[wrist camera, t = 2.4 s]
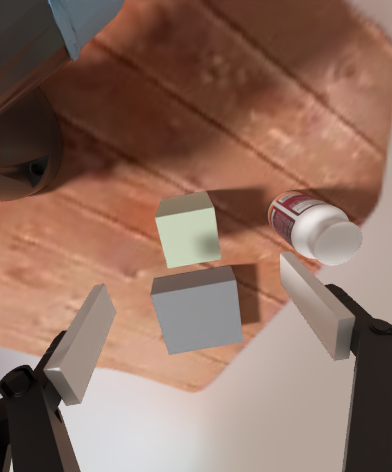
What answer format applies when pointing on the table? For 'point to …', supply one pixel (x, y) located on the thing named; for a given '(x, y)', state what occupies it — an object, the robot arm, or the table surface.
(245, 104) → the table surface
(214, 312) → the slate block
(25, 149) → the robot arm
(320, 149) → the table surface
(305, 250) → the pill bottle
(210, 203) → the sage block
